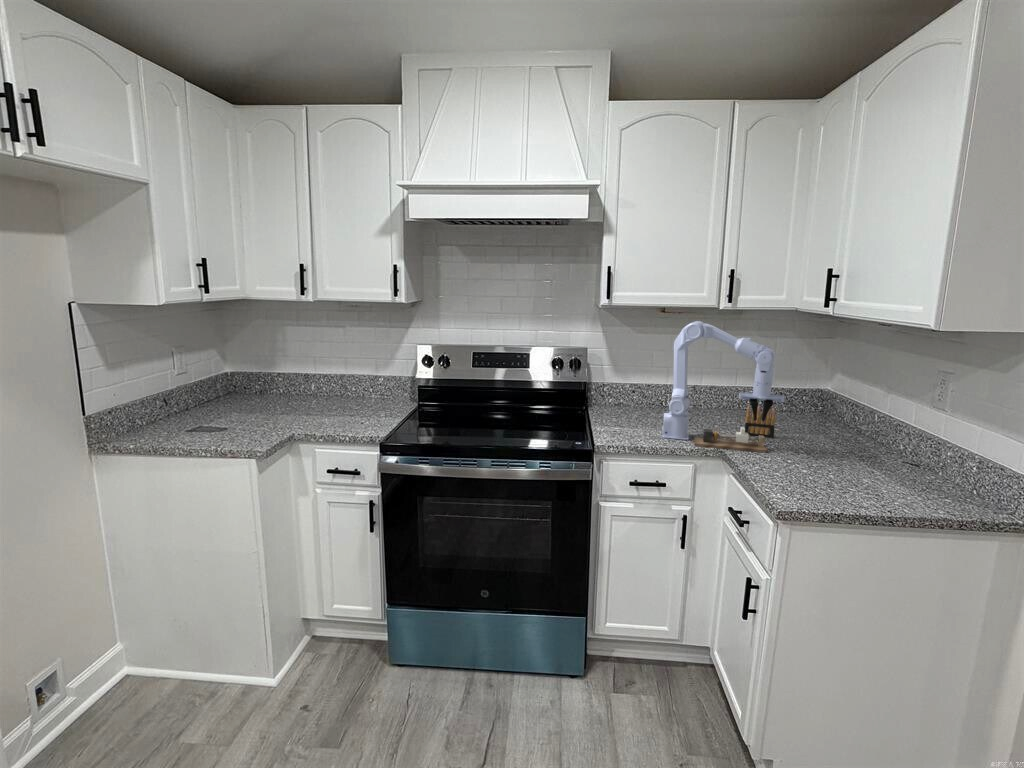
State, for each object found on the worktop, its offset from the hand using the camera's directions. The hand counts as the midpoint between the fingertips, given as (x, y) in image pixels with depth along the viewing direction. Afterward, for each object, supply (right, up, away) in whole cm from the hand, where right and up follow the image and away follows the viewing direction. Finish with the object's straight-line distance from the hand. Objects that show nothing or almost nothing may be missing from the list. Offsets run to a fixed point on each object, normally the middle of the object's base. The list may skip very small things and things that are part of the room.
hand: (758, 420), depth 196 cm
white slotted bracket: (-5, -8, +3) cm, 10 cm away
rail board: (-9, -10, +4) cm, 14 cm away
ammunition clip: (+8, -8, +17) cm, 20 cm away
